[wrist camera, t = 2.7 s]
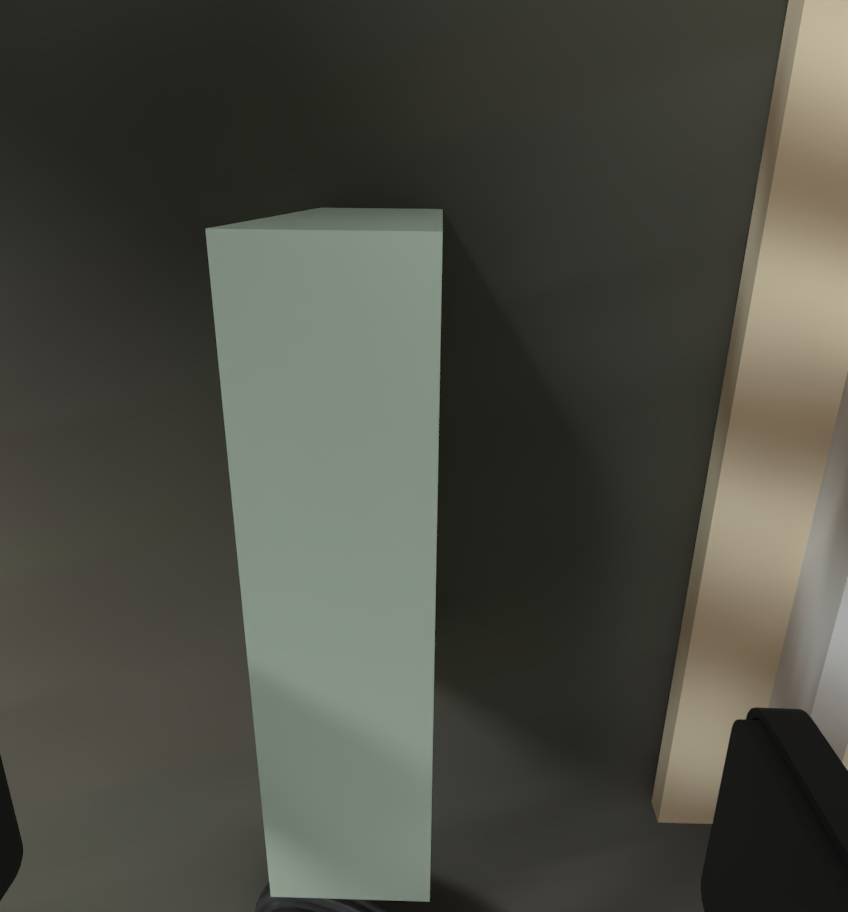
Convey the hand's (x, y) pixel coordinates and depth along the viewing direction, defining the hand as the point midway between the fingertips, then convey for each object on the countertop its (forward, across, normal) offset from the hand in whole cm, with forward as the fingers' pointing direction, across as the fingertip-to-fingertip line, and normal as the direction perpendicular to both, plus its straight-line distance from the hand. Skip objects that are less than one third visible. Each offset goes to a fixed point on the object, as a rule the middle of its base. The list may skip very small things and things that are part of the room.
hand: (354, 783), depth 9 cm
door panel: (+12, +1, -1) cm, 12 cm away
